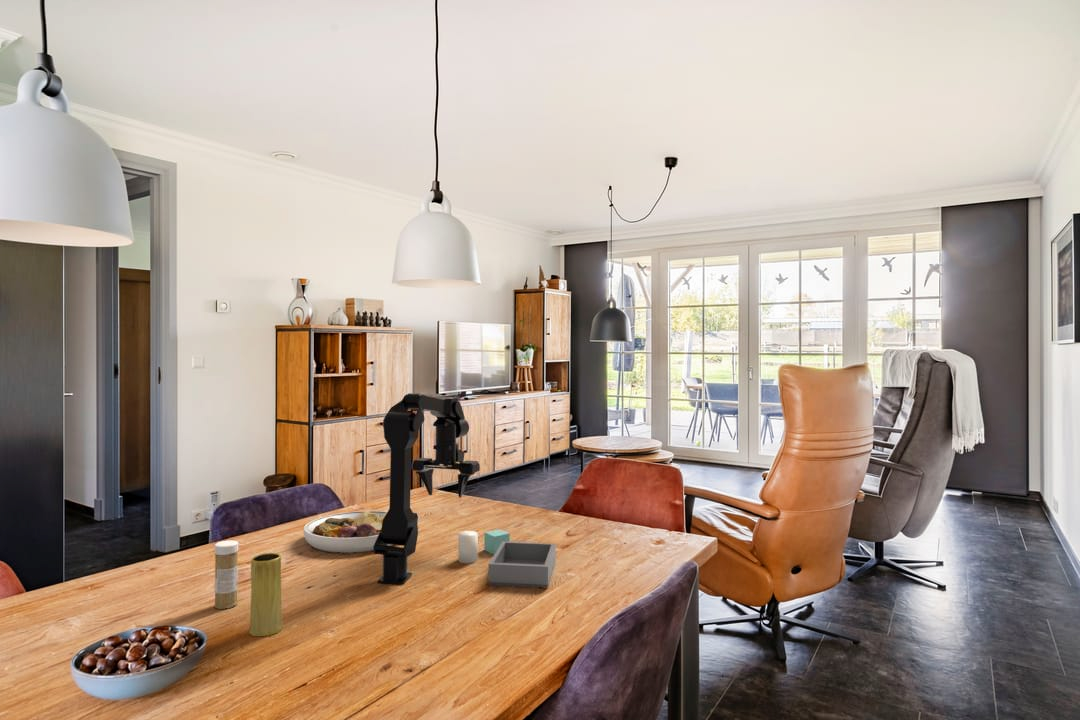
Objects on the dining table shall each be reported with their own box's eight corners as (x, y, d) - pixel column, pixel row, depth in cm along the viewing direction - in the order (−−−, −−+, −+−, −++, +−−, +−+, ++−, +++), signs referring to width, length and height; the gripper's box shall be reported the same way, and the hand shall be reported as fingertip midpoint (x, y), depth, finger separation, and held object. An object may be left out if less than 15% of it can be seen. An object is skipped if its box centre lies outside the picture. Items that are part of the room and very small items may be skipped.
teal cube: (509, 551, 170) (509, 533, 170) (494, 555, 167) (494, 536, 167) (499, 547, 174) (499, 529, 174) (484, 550, 171) (484, 532, 171)
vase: (245, 639, 117) (246, 563, 117) (251, 625, 123) (252, 553, 123) (280, 635, 118) (280, 560, 118) (284, 622, 124) (285, 551, 124)
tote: (548, 588, 143) (548, 566, 143) (488, 585, 145) (488, 564, 145) (555, 562, 161) (555, 543, 161) (502, 560, 163) (502, 541, 163)
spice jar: (219, 601, 134) (219, 539, 134) (241, 601, 135) (241, 539, 135) (210, 610, 130) (210, 546, 130) (233, 609, 130) (233, 545, 130)
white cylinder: (475, 563, 160) (475, 536, 160) (456, 563, 160) (456, 536, 160) (479, 557, 165) (479, 531, 165) (460, 556, 165) (461, 530, 165)
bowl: (297, 533, 187) (298, 507, 187) (396, 522, 201) (396, 497, 201) (310, 563, 161) (311, 532, 161) (423, 547, 174) (423, 519, 174)
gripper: (487, 439, 180) (486, 492, 180) (429, 436, 186) (428, 488, 186) (471, 443, 170) (471, 501, 170) (410, 440, 175) (410, 496, 175)
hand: (445, 496), depth 175 cm, fingers open, 9 cm apart
